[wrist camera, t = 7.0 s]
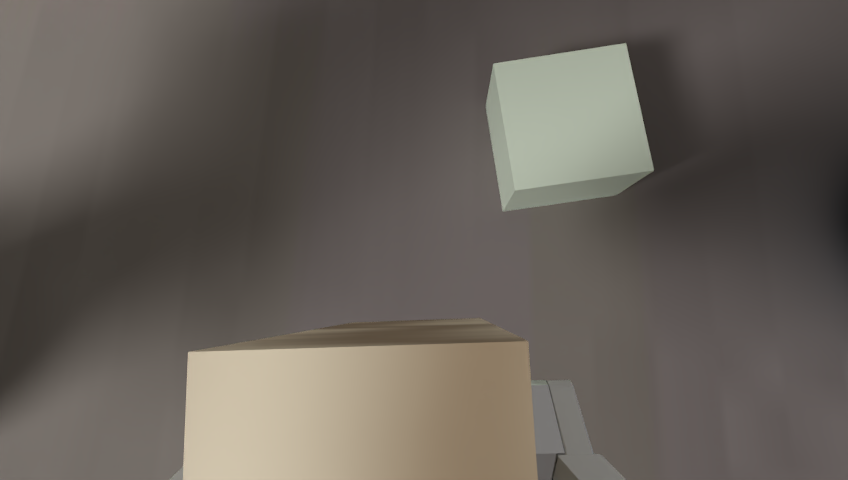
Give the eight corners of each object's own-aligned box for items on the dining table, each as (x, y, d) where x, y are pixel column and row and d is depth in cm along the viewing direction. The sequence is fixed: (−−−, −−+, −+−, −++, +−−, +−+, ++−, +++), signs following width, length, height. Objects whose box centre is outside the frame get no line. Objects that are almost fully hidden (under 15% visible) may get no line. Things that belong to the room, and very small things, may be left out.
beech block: (354, 456, 15) (172, 740, 5) (353, 322, 16) (187, 352, 6) (487, 453, 15) (556, 748, 5) (480, 318, 16) (527, 341, 6)
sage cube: (502, 211, 32) (514, 190, 26) (485, 107, 33) (493, 63, 27) (615, 195, 31) (654, 170, 25) (593, 90, 33) (626, 43, 27)
